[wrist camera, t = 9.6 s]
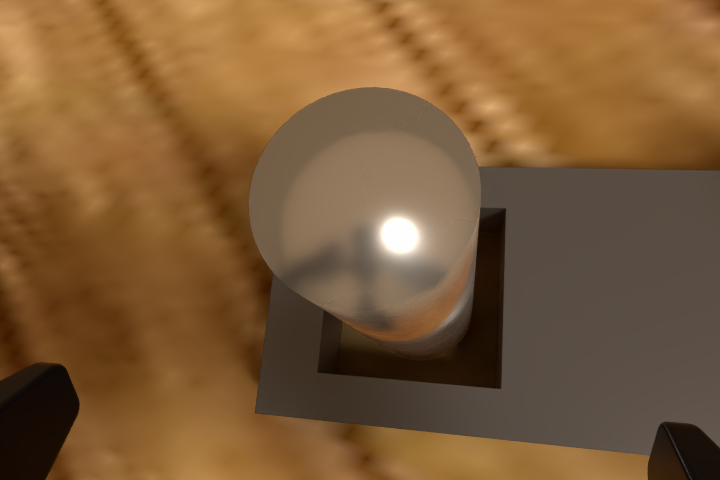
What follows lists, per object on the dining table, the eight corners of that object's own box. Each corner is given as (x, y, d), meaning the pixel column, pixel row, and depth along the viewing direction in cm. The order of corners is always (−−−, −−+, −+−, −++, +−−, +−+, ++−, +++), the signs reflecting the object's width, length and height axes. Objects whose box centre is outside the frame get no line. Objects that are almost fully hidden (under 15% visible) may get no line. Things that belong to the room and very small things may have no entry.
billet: (441, 380, 21) (406, 356, 9) (350, 327, 22) (206, 241, 10) (490, 287, 22) (524, 141, 9) (399, 240, 23) (322, 56, 10)
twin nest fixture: (1206, 507, 16) (1361, 531, 13) (282, 411, 22) (254, 413, 19) (1126, 212, 19) (1246, 178, 16) (308, 191, 24) (287, 163, 21)
